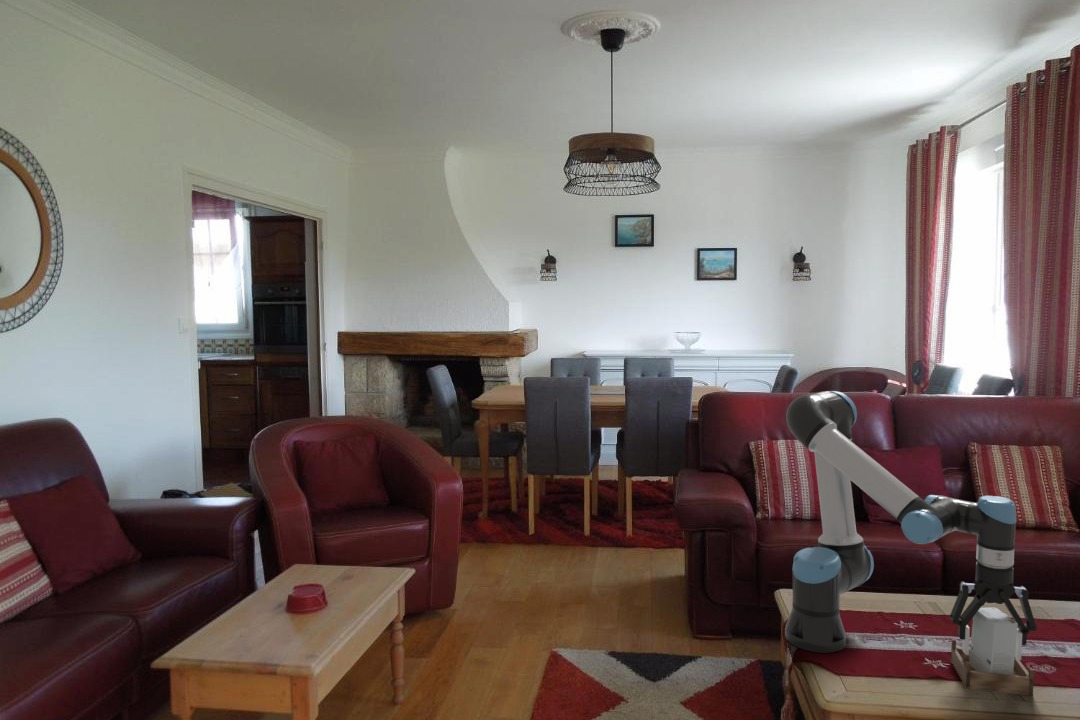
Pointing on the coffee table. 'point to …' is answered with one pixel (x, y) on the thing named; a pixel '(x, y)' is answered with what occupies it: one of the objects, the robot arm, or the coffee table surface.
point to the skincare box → (993, 642)
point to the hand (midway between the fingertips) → (991, 654)
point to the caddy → (992, 675)
